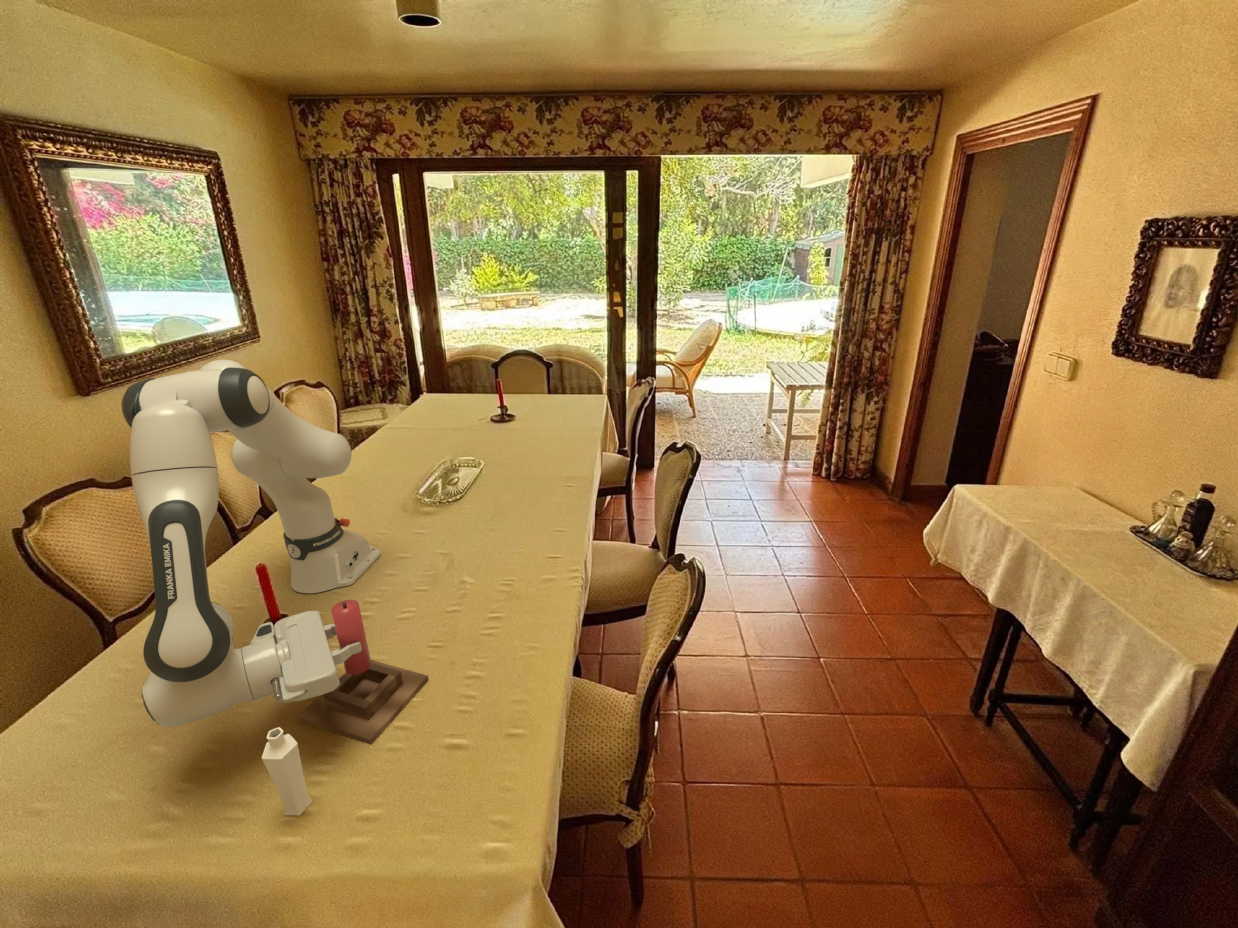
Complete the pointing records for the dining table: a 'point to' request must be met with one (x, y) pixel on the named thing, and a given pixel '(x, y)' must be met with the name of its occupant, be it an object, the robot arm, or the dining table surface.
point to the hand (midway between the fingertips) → (357, 635)
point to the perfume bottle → (286, 771)
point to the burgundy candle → (351, 635)
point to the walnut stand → (365, 701)
